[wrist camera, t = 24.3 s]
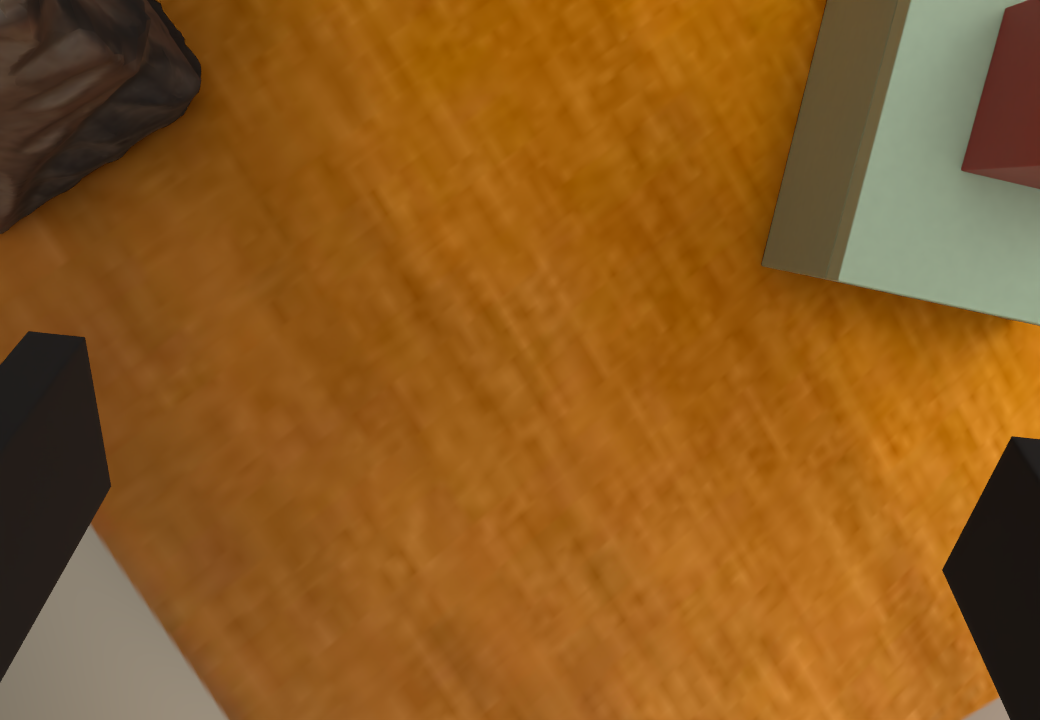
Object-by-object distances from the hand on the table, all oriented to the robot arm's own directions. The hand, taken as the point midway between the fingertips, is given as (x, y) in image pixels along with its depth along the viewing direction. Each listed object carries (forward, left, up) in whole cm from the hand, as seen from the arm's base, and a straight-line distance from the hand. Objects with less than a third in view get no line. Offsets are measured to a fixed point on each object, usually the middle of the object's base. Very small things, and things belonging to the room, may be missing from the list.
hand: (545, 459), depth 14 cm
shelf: (-12, +19, -31) cm, 38 cm away
